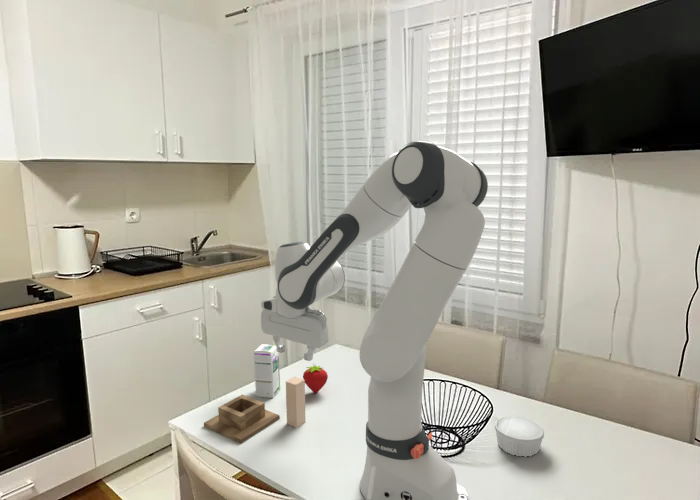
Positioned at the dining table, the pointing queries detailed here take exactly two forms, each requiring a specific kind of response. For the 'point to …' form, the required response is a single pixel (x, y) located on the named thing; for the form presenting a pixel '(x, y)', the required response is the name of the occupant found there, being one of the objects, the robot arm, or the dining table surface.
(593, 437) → the dining table surface
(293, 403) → the peach rectangular block
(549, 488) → the dining table surface
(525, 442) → the ramekin
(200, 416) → the dining table surface
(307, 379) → the strawberry
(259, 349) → the syrup box
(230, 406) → the wooden peg socket base
